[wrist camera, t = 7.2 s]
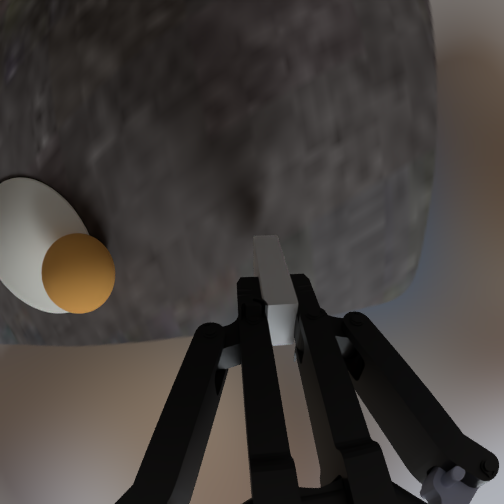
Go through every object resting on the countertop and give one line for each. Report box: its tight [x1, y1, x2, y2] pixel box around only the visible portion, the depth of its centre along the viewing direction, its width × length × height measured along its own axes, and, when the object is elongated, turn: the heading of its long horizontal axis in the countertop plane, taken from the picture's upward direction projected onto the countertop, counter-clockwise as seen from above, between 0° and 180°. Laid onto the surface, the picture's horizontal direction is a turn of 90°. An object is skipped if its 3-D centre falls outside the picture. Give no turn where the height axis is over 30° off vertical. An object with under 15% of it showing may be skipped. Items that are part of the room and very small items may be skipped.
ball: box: [41, 233, 115, 313], centre depth 18 cm, size 6×6×6 cm
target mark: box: [0, 177, 89, 313], centre depth 20 cm, size 13×13×1 cm
